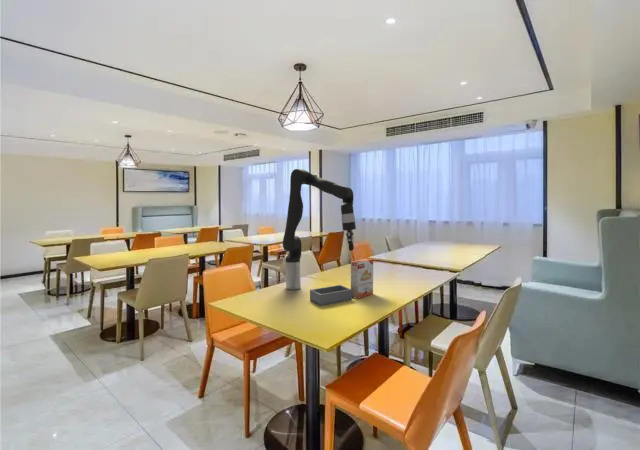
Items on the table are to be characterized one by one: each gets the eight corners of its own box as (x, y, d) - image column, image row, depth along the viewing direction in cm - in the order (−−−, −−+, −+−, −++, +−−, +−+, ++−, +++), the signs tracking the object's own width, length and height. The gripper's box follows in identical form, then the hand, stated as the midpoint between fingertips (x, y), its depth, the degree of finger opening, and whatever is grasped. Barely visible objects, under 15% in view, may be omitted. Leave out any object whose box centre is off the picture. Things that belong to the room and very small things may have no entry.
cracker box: (358, 299, 188) (358, 262, 187) (350, 297, 193) (349, 261, 191) (374, 294, 198) (373, 259, 196) (366, 292, 202) (365, 257, 200)
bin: (310, 300, 188) (309, 289, 187) (340, 294, 197) (340, 284, 197) (320, 306, 177) (320, 294, 177) (351, 300, 187) (351, 289, 186)
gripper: (342, 222, 200) (346, 249, 200) (340, 222, 186) (344, 251, 186) (355, 220, 199) (358, 248, 199) (354, 221, 185) (357, 250, 185)
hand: (351, 249), depth 193 cm, fingers open, 8 cm apart
